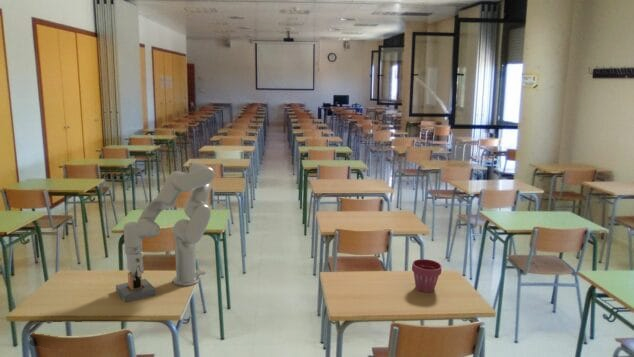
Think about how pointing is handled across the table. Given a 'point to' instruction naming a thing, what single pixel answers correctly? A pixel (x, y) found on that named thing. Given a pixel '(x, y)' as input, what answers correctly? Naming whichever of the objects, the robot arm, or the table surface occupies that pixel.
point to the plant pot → (426, 274)
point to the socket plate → (135, 291)
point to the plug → (130, 281)
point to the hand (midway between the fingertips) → (135, 285)
